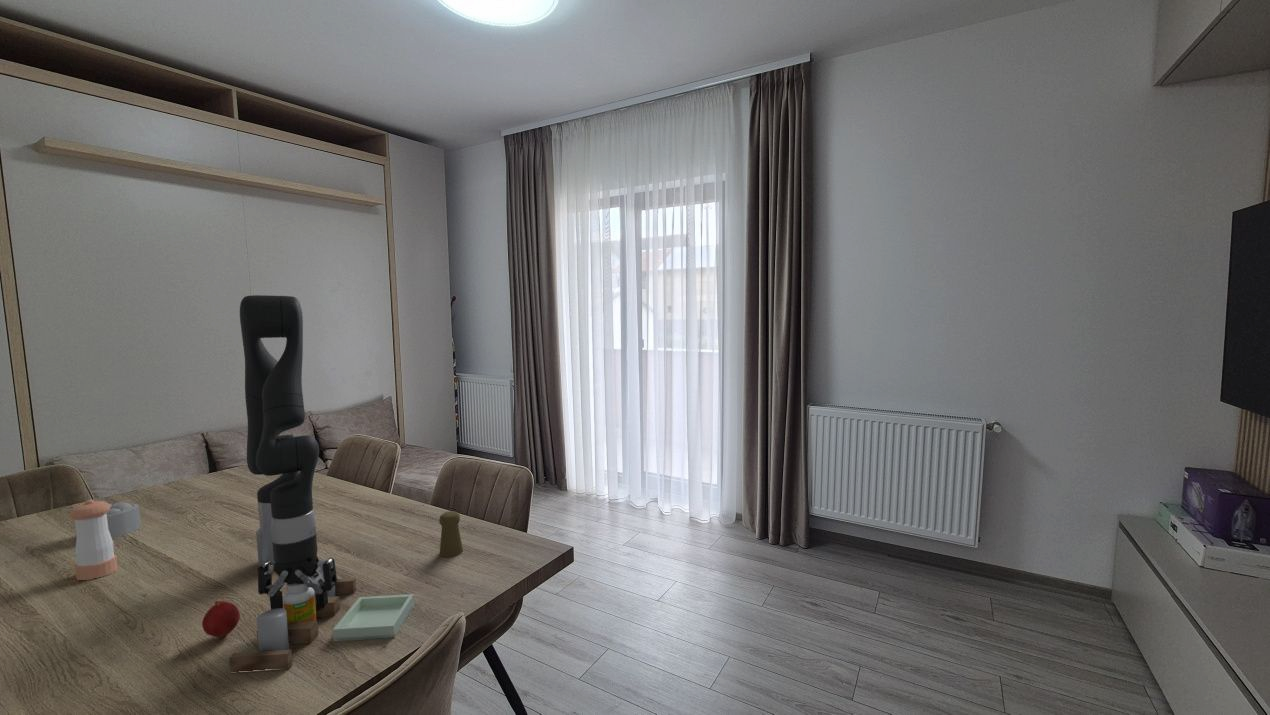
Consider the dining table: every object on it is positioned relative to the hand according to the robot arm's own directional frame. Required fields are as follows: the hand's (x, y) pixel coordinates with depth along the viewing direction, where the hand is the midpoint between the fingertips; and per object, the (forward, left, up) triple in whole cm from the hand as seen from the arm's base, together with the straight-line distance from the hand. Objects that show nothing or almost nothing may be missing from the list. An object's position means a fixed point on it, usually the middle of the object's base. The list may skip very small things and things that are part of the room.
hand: (300, 610), depth 107 cm
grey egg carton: (-84, +55, -4) cm, 101 cm away
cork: (+22, +31, -4) cm, 38 cm away
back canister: (0, +9, -4) cm, 10 cm away
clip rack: (0, 0, -4) cm, 4 cm away
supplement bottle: (0, 0, -4) cm, 4 cm away
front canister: (0, -9, -4) cm, 10 cm away
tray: (+15, 0, -4) cm, 15 cm away
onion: (-14, -2, -4) cm, 15 cm away
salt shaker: (-65, +29, -4) cm, 71 cm away
